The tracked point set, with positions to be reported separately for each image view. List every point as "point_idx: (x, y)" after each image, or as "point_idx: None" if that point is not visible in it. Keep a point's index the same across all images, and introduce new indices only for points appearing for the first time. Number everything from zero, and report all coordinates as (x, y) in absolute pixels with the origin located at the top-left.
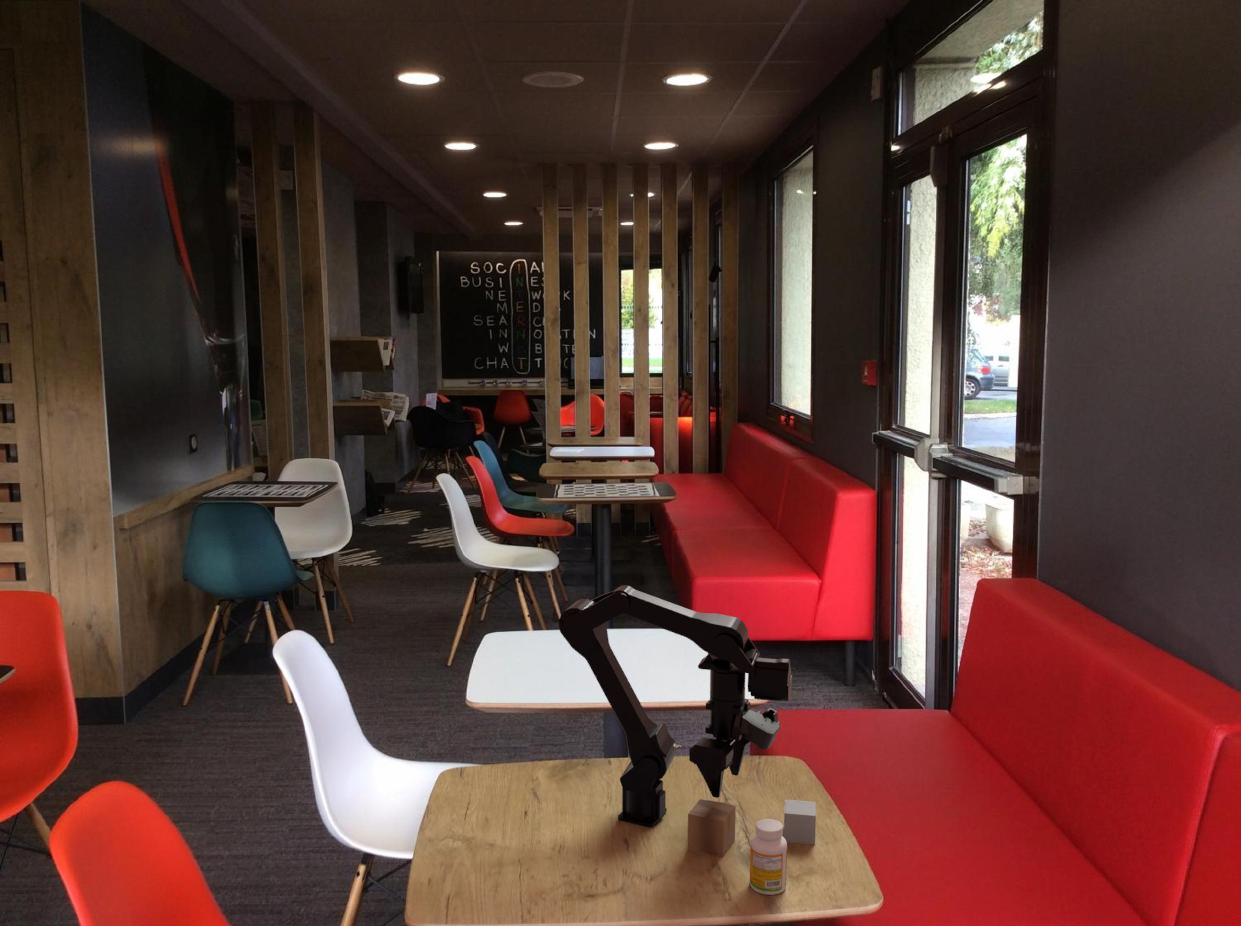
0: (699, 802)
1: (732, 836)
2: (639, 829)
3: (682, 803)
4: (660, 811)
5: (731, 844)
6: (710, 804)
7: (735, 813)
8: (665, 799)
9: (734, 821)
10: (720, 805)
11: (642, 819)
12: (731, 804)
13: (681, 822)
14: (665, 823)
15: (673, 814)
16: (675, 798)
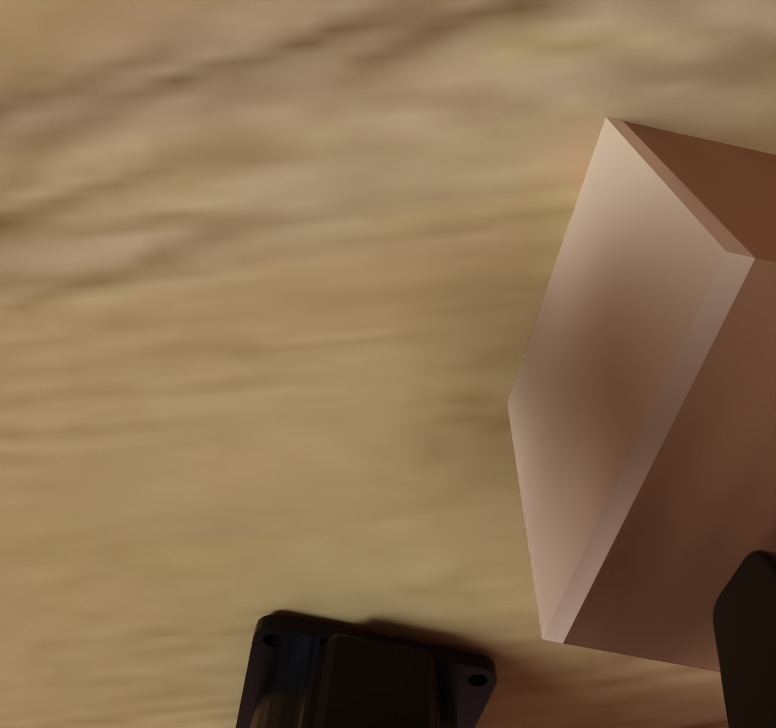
0: (657, 642)
1: (715, 155)
2: (527, 698)
3: (111, 542)
4: (417, 691)
5: (715, 142)
6: (709, 548)
7: (695, 207)
8: (325, 722)
9: (696, 184)
10: (735, 446)
11: (454, 717)
12: (707, 315)
13: (385, 524)
14: (422, 599)
15: (286, 573)
16: (62, 582)
